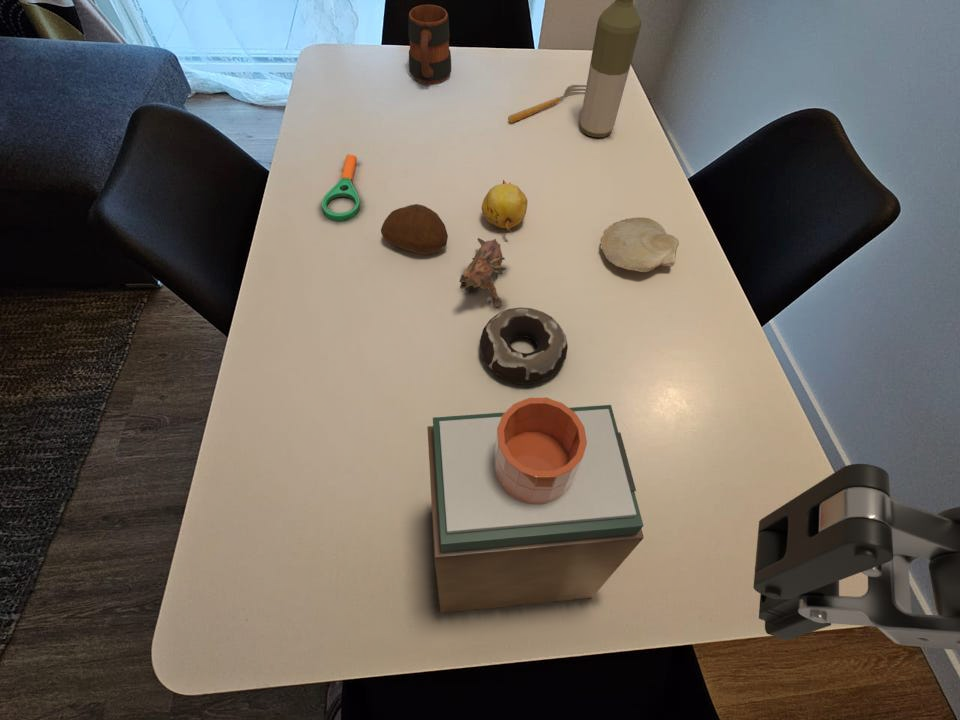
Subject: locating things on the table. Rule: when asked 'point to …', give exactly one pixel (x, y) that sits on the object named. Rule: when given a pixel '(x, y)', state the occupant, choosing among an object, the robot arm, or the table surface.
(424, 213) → the potato
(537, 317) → the donut
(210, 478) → the table surface
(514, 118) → the fork
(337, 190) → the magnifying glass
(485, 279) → the dinosaur figurine
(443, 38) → the mug
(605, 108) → the bottle
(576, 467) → the bowl
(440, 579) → the stand
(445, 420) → the scale
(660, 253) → the seashell
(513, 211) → the fruit
